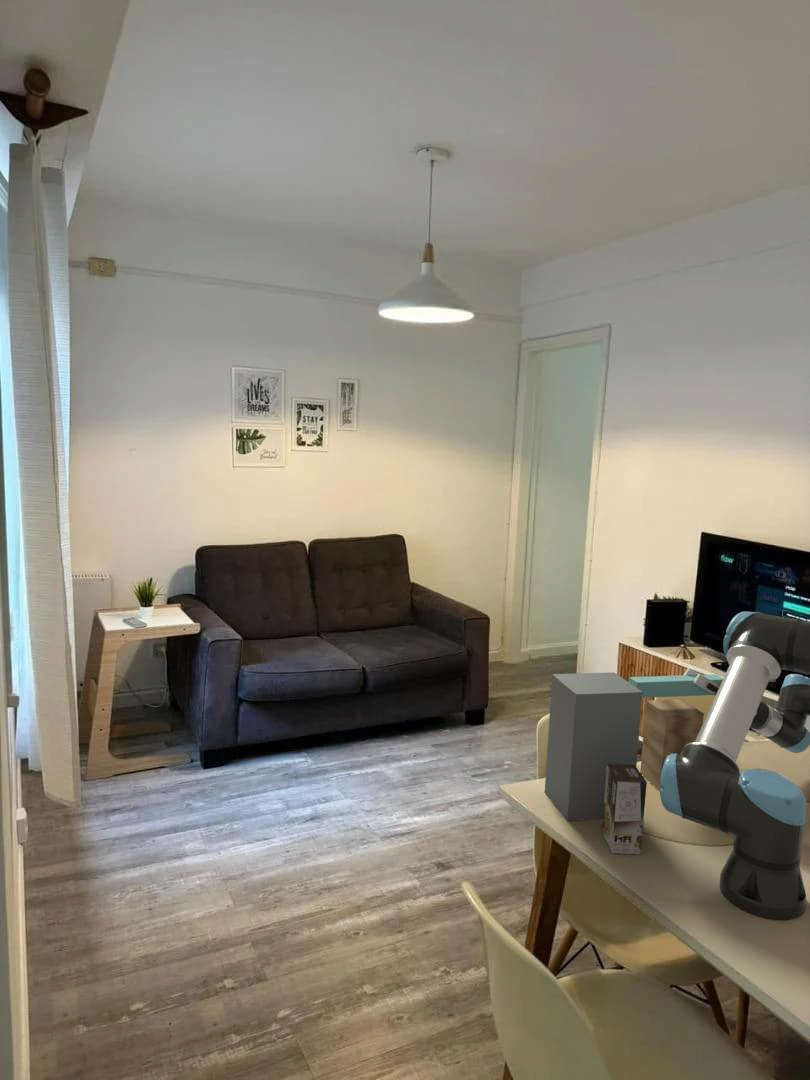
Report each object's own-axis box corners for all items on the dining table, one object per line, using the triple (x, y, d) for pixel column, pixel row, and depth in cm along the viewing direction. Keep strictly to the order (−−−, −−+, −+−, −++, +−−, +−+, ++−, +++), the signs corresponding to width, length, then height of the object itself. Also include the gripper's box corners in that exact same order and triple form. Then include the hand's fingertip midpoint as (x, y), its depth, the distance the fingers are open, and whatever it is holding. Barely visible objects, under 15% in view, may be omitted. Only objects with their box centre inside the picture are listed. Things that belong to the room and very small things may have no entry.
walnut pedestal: (675, 772, 201) (681, 699, 198) (696, 789, 191) (703, 713, 188) (640, 774, 199) (646, 700, 196) (659, 792, 189) (666, 714, 186)
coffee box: (641, 855, 160) (648, 782, 158) (611, 853, 160) (616, 781, 158) (630, 832, 169) (635, 763, 167) (600, 831, 169) (606, 762, 167)
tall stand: (605, 788, 190) (614, 672, 186) (632, 816, 176) (642, 692, 172) (544, 792, 187) (552, 674, 182) (567, 821, 173) (576, 694, 169)
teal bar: (714, 689, 196) (715, 674, 195) (723, 694, 192) (725, 679, 191) (628, 692, 191) (629, 677, 191) (635, 698, 187) (637, 682, 187)
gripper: (772, 742, 189) (702, 699, 184) (731, 716, 206) (665, 676, 200) (788, 716, 189) (719, 673, 183) (745, 692, 205) (681, 652, 200)
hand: (691, 675), depth 192 cm, fingers closed on teal bar, 4 cm apart
